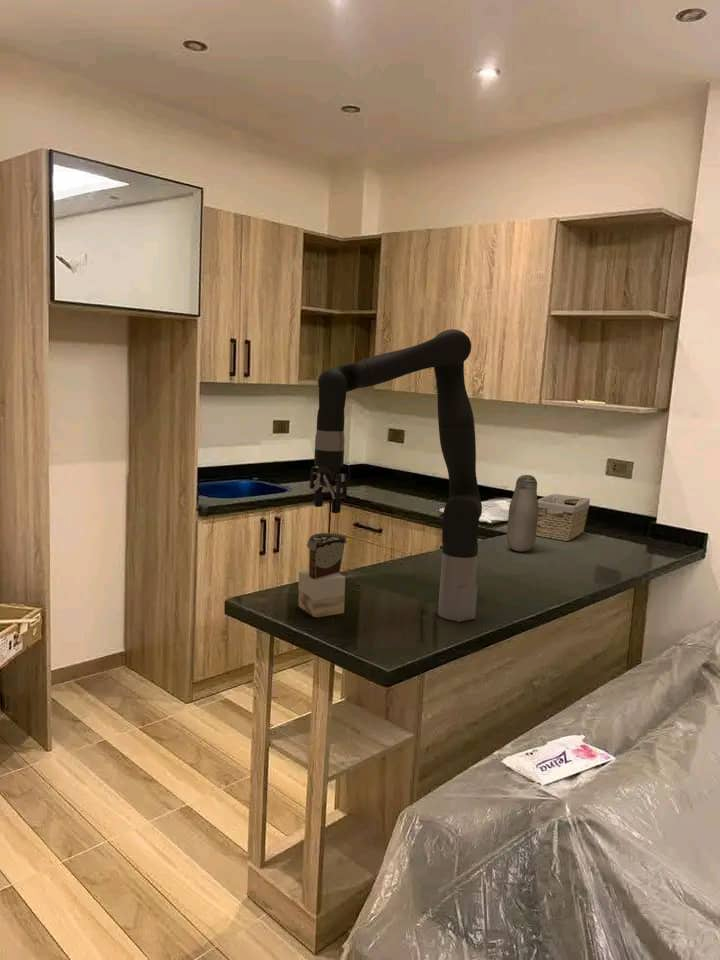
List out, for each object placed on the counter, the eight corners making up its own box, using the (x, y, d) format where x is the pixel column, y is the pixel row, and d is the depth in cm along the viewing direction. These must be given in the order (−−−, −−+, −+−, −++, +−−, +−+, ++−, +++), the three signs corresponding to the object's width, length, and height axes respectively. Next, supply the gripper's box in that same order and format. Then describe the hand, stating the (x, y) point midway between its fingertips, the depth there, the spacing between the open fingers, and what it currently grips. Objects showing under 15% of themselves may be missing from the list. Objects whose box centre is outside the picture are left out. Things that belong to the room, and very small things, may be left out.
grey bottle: (523, 555, 261) (530, 478, 256) (500, 549, 268) (506, 473, 264) (539, 552, 267) (547, 476, 263) (517, 545, 275) (523, 472, 270)
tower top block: (344, 595, 194) (345, 577, 193) (314, 599, 189) (315, 581, 188) (327, 585, 201) (328, 567, 200) (298, 589, 196) (299, 571, 195)
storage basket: (549, 526, 311) (553, 492, 309) (588, 532, 303) (591, 497, 301) (530, 536, 291) (534, 500, 289) (571, 543, 283) (575, 506, 281)
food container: (326, 564, 201) (330, 530, 199) (343, 571, 198) (347, 536, 195) (294, 573, 192) (297, 537, 190) (311, 580, 188) (314, 543, 186)
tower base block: (343, 613, 194) (344, 595, 193) (313, 618, 189) (314, 600, 189) (327, 603, 202) (328, 585, 201) (298, 607, 197) (298, 589, 196)
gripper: (357, 451, 184) (354, 514, 187) (327, 443, 196) (324, 503, 198) (331, 452, 180) (329, 516, 182) (302, 444, 191) (300, 505, 194)
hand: (326, 509), depth 190 cm, fingers open, 8 cm apart
